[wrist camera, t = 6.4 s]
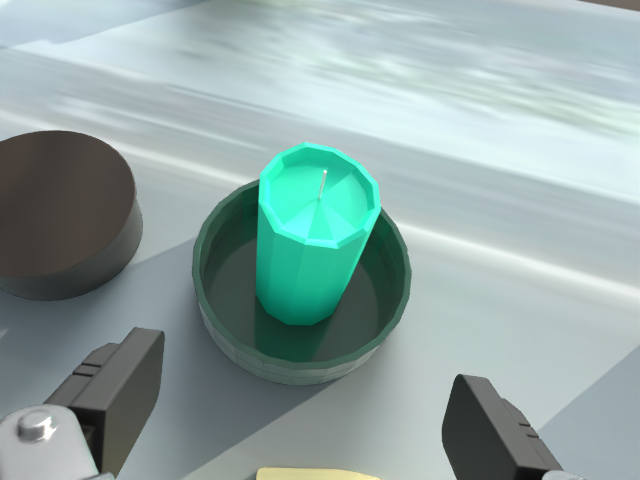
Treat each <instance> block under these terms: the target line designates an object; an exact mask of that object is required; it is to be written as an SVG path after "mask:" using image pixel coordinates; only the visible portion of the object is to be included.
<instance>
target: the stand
mask: <svg viewBox="0 0 640 480" xmlns="http://www.w3.org/2000/svg"><path fill="white" fill-rule="evenodd" d="M136 194H137V192H136V183H135V180H134V176H133V173H132V171H131V169H130V167H129V165H128V163H127V162H126V160H125V159H124V158H123V156H122V155H121V154H120V153H119V152H118V151H117V150H115V149H114V148H113V147H111V146H110V145H108V144H107V143H105V142H103V141H101V140H99V139H97V138H95V137H92V136H89V135H86V134H82V133H77V132H72V131H60V130H54V131H38V132H32V133H27V134H22V135H19V136H15V137H12V138H9V139H6V140H4V141H1V142H0V288H2V289H3V290H5V291H7V292H9V293H11V294H13V295H15V296H19V297H22V298H25V299H31V300H41V301H51V300H62V299H67V298H72V297H76V296H79V295H82V294H85V293H87V292H90V291H92V290H94V289H96V288H98V287H100V286H102V285H103V284H105V283H106V282H108V281H109V280H111V279H112V278H113V277H115V276H116V275H117V274H118V273H119V272H120V271H121V270H122V269H123V268H124V267H125V266H126V265H127V264H128V262H129V261H130V260H131V258H132V257H133V255H134V253H135V251H136V250H137V248H138V245H139V242H140V240H141V235H142V228H143V221H142V214H141V211H140V207H139V204H138V202H137V199H136Z"/></svg>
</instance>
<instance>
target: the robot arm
mask: <svg viewBox="0 0 640 480" xmlns="http://www.w3.org/2000/svg"><path fill="white" fill-rule="evenodd" d="M164 341H165V335H164V332H163V331H158V330H151V329H144V328H137V327H135V328H133V329H132V330H131V332H130V333H129V334H128V335H127V336H126V338H125V339H124V340H123V341H122V342H121V343H120V344H115V343H108V344H106V345H104V346H102V347H100V348H98V349H96V350H94V351H92V352H91V353H90V354H89V355H88V356H87V357H86V358H85V360H84V361H83V362H82V363H81V365H79V366H78V367H77V368H76V369H75V370H74V371H73V373H72V375H69V377H68V378H67V379H66V380H65V381H64V382H63V383H62V384H61V385H60V386H59V387H58V388H57V389H56V390H55V391H54V392H53V394H52V395H51V396H50V397H49V398H48V399H47V400H46V401H45V402H44V403H43V404H42V405H34V406H29V407H25V408H22V409H19V410H16V411H14V412H12V413H10V414H8V415H7V416H5V417H4V418H2V419H1V420H0V480H115V479H116V477H117V475H118V473H119V472H120V470H121V468H122V466H123V464H124V462H125V461H126V459H127V457H128V455H129V453H130V451H131V449H132V448H133V446H134V444H135V442H136V440H137V438H138V436H139V435H140V433H141V431H142V429H143V427H144V425H145V423H146V422H147V420H148V418H149V416H150V414H151V412H152V411H153V409H154V406H155V404H156V401H157V398H158V394H159V389H160V383H161V373H162V362H163V352H164ZM442 443H443V447H444V449H445V452H446V454H447V457H448V459H449V462H450V464H451V466H452V469H453V471H454V474H455V476H456V478H457V480H586V479H584V478H582V477H580V476H577V475H575V474H572V473H569V472H565V471H564V470H563V469H562V467H561V466H560V465H559V463H558V462H557V460H556V459H555V458H554V456H553V455H552V454H551V452H550V451H549V449H548V448H547V447H546V445H545V444H544V443H543V441H542V440H541V439H539V436H538V434H537V433H536V432H535V430H534V429H533V428H532V427H530V423H529V422H528V421H527V419H526V418H525V417H524V415H523V414H522V413H521V411H520V410H518V409H517V408H516V407H515V406H513V405H512V404H511V403H510V402H508V401H507V400H506V399H503V398H501V397H500V396H499V394H498V393H497V391H496V390H495V389H494V387H493V386H492V384H491V383H490V381H489V380H488V379H487V378H483V377H476V376H469V375H462V374H459V375H457V376H456V378H455V380H454V383H453V387H452V390H451V394H450V398H449V402H448V405H447V409H446V413H445V416H444V420H443V424H442Z"/></svg>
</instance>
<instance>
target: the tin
mask: <svg viewBox="0 0 640 480" xmlns="http://www.w3.org/2000/svg"><path fill="white" fill-rule="evenodd" d="M259 184H260V179H258V180H256V181H253V182H251V183H249V184H246V185H244V186H242V187H239V188H238V189H236V190H235V191H234V192H233V193H231V194H230V195H229V196H227V197H226V198H225V199H223V200H222V201H221V202H219V203H218V205H217V206H216V207H215V209H214V210H213V211H212V212H211V214H210V215H209V216H208V218H207V219H206V220H205V222H204V223H203V225H202V227H201V230H200V233H199V235H198V238H197V240H196V243H195V245H194V251H193V265H192V276H193V281H194V285H195V289H196V294H197V298H198V302H199V306H200V311H201V315H202V319H203V322H204V324H205V326H206V328H207V329H208V332H209V334H210V336H211V337H212V339H213V340H214V342H215V343H216V345H217V346H218V347H219V348H220V349H221V350H222V352H223V353H224V354H225V355H226V356H227V357H228V358H229V359H231V360H232V361H233V362H234V363H235V364H236V365H238V366H239V367H241V368H243V369H244V370H246V371H247V372H249V373H251V374H253V375H255V376H258V377H260V378H262V379H265V380H268V381H272V382H275V383H280V384H287V385H313V384H320V383H324V382H328V381H332V380H334V379H337V378H339V377H342V376H344V375H347V374H348V373H350V372H351V371H353V370H355V369H356V368H358V367H359V366H360V365H362V364H363V363H364V362H366V361H367V360H369V358H370V357H371V356H372V355H373V354H374V352H375V351H376V350H377V349H378V347H379V346H380V345H381V344H382V343H383V341H384V340H385V339H386V338H387V337H388V335H389V334H390V333H391V332H392V330H393V329H394V328H395V327H396V325H397V324H398V323H399V321H400V319H401V316H402V314H403V312H404V309H405V307H406V304H407V302H408V300H409V295H410V285H411V275H412V273H411V272H412V271H411V266H410V261H409V255H408V250H407V246H406V244H405V242H404V240H403V238H402V236H401V234H400V232H399V230H398V228H397V226H396V224H395V223H394V222H393V221H392V219H391V218H390V217H389V216H388V215H387V213H386V212H385V211H384V210H383V209H382V207H381V211H380V213H379V215H378V218H377V220H376V222H375V224H374V227H373V229H372V231H371V233H370V236H369V238H368V240H367V242H366V245H365V247H364V249H363V251H362V254H361V256H360V258H359V260H358V263H357V265H356V267H355V269H354V272H353V274H352V276H351V278H350V281H349V283H348V285H347V287H346V290H345V292H344V294H343V296H342V298H341V300H340V301H339V303H338V305H337V307H336V308H335V310H334V312H333V314H332V315H330V316H328V317H327V318H325V319H323V320H321V321H319V322H317V323H315V324H314V325H312V326H311V325H287V324H285V323H283V322H282V321H280V320H278V319H276V318H275V317H273V316H271V315H269V314H268V313H266V311H265V309H264V307H263V306H262V304H261V302H260V300H259V299H258V297H257V295H256V293H255V290H256V261H257V232H258V203H259Z"/></svg>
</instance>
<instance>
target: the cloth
mask: <svg viewBox="0 0 640 480" xmlns="http://www.w3.org/2000/svg"><path fill="white" fill-rule="evenodd" d="M256 480H382V479H379V478H377V477H373V476H369V475H365V474H361V473H357V472H352V471H345V470H337V469H305V468H265V467H262V468H260V469H259V470H258V472H257V475H256Z"/></svg>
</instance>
